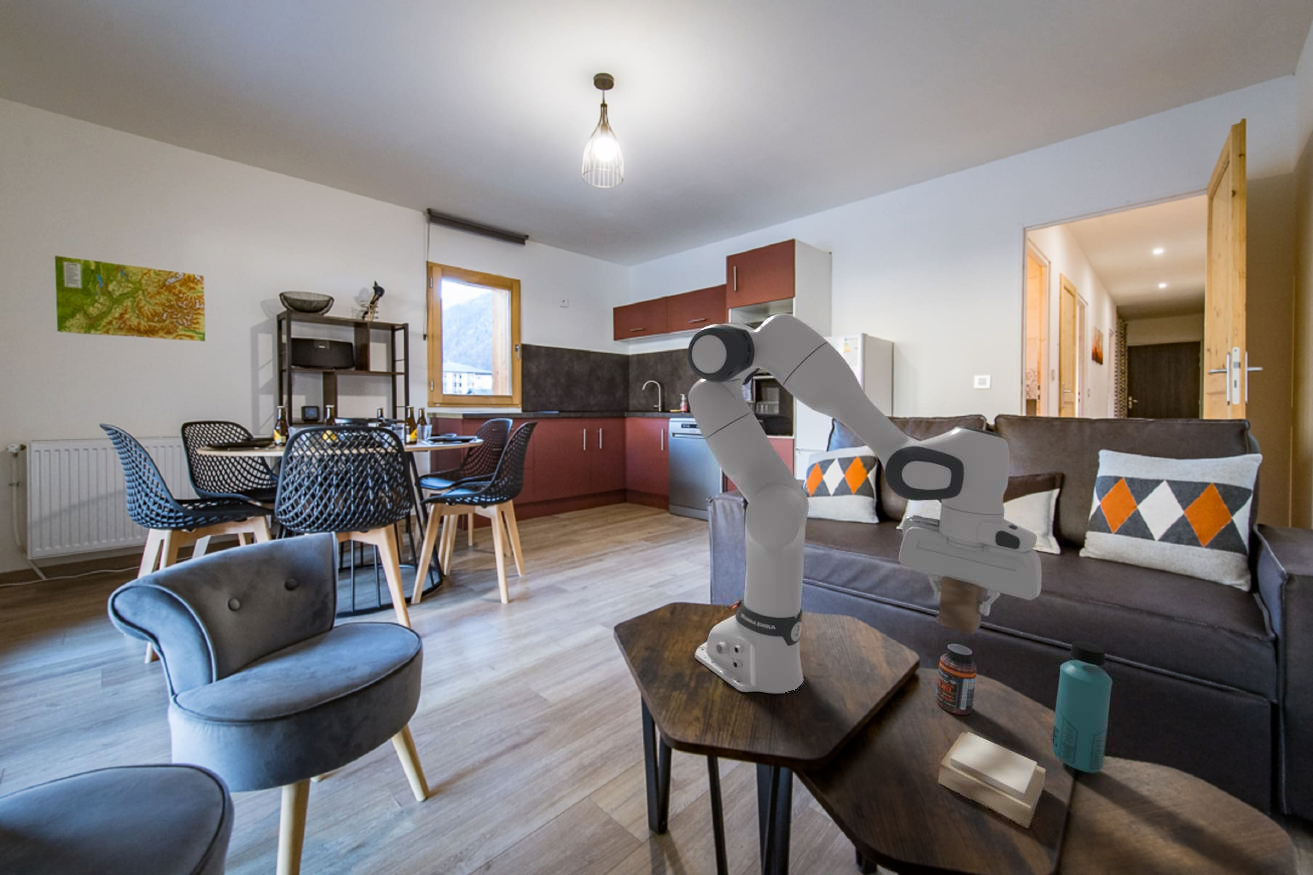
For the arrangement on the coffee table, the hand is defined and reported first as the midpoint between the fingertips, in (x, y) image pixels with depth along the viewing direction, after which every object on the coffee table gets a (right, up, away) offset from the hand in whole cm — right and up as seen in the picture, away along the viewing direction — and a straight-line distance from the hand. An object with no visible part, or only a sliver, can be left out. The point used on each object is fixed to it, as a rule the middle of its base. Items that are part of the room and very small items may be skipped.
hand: (960, 607), depth 85 cm
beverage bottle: (+15, -24, -5) cm, 29 cm away
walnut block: (0, -3, 0) cm, 3 cm away
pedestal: (-1, -23, -9) cm, 25 cm away
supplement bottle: (+5, -22, +10) cm, 25 cm away
